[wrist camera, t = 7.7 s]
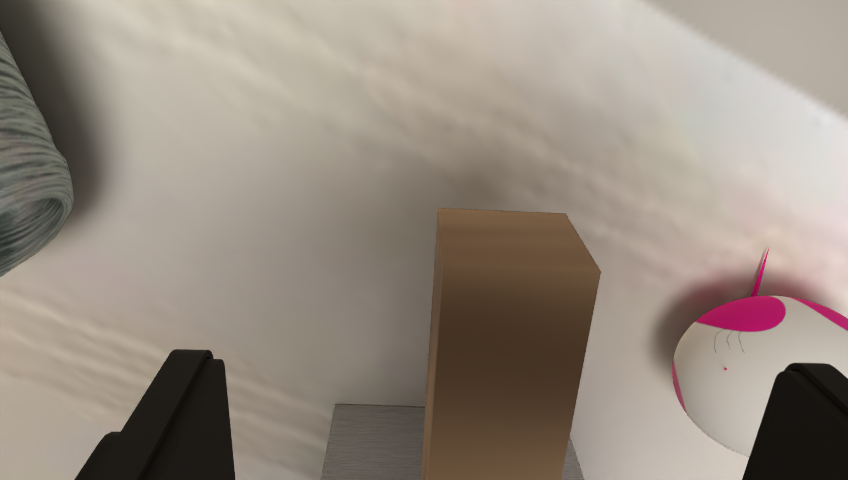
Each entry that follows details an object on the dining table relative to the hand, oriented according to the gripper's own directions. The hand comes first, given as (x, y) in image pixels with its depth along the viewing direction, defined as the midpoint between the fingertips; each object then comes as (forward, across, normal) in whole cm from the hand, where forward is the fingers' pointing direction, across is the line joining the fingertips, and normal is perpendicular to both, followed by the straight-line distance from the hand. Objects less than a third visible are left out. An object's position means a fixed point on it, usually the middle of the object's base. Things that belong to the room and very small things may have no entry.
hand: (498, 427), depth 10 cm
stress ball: (+13, -13, +5) cm, 19 cm away
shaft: (+5, -1, +7) cm, 9 cm away
